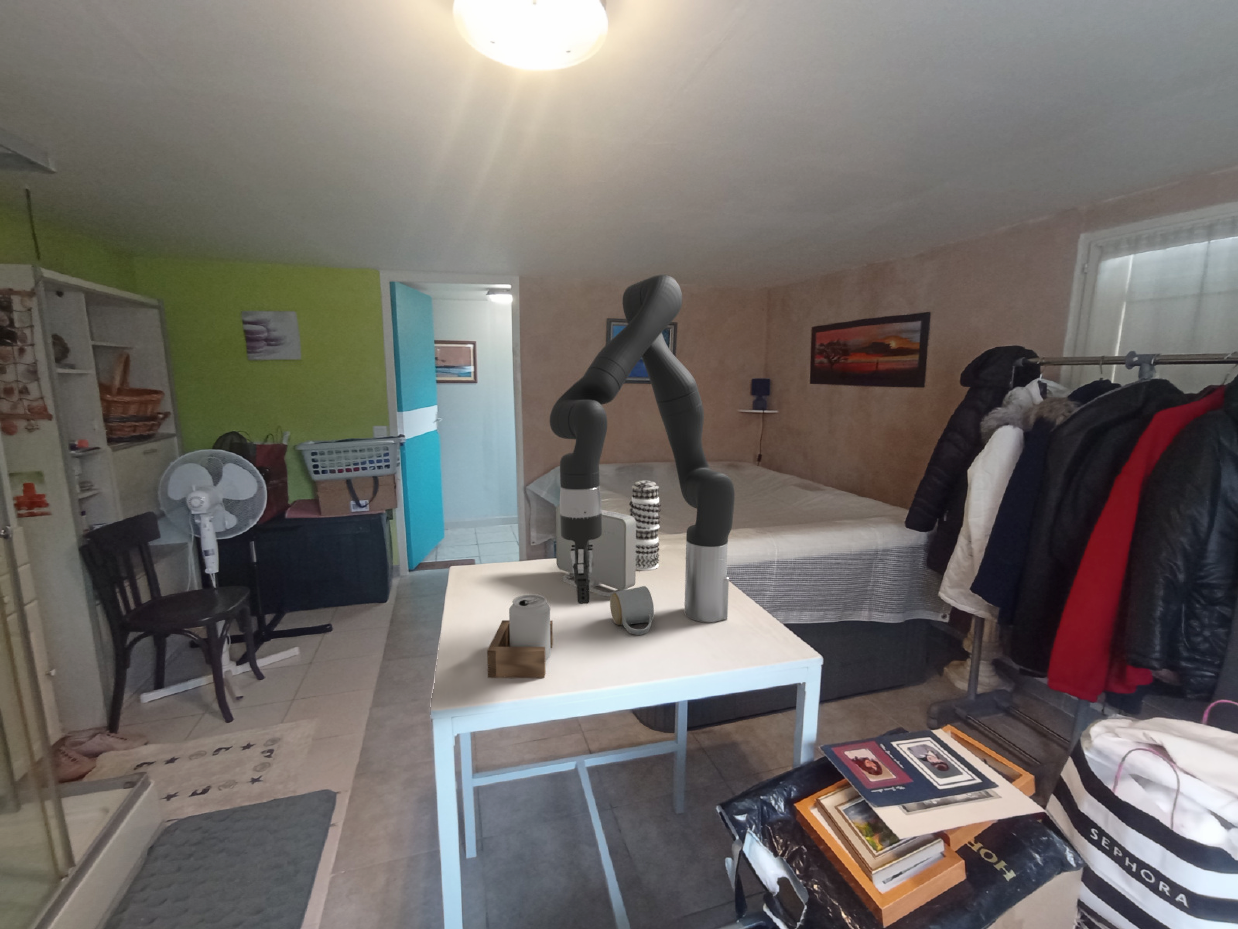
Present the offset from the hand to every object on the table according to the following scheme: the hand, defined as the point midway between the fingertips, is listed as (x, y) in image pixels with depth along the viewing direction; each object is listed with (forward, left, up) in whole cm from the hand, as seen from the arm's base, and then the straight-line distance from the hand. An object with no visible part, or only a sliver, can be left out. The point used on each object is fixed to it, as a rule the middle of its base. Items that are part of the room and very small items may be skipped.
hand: (583, 602), depth 97 cm
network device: (0, -40, -12) cm, 42 cm away
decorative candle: (-14, -55, -12) cm, 58 cm away
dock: (+12, 0, -12) cm, 16 cm away
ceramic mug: (-10, -16, -12) cm, 22 cm away
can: (+10, 0, -12) cm, 16 cm away
